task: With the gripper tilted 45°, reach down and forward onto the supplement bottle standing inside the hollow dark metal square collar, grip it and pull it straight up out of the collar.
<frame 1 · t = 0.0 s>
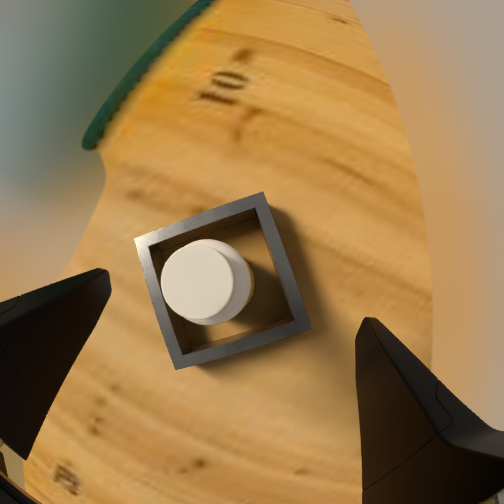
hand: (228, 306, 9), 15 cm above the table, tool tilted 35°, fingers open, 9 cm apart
supplement bottle: (223, 283, 24), resting in collar
collar: (223, 283, 24), on the table
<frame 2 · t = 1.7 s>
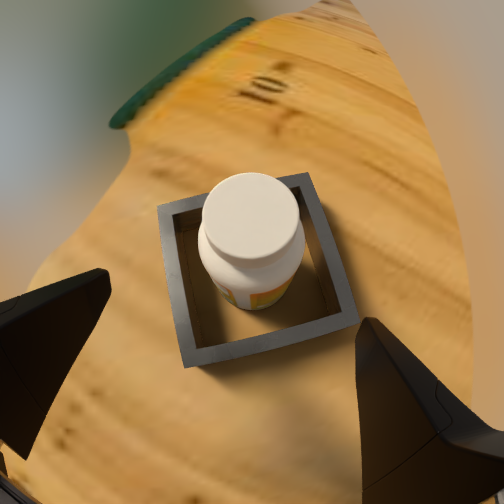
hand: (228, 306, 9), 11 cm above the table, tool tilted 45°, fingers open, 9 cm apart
supplement bottle: (252, 274, 21), resting in collar
collar: (252, 273, 21), on the table
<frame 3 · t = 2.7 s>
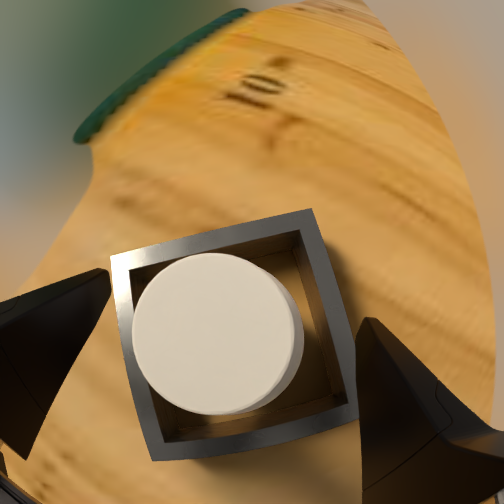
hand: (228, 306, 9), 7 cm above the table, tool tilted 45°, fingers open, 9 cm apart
supplement bottle: (236, 341, 16), resting in collar
collar: (236, 341, 15), on the table
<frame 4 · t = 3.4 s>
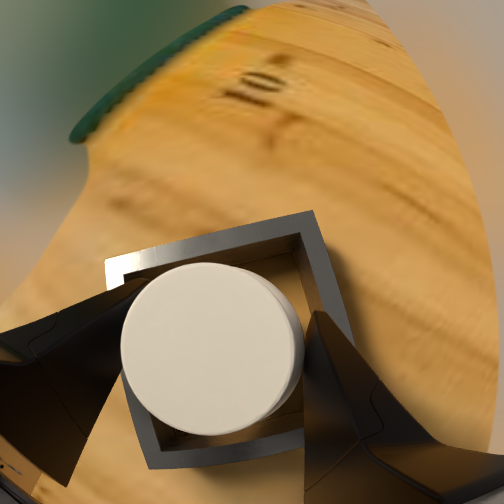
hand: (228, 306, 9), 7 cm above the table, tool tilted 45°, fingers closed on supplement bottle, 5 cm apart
supplement bottle: (235, 347, 15), resting in collar, touching gripper
collar: (234, 347, 15), on the table
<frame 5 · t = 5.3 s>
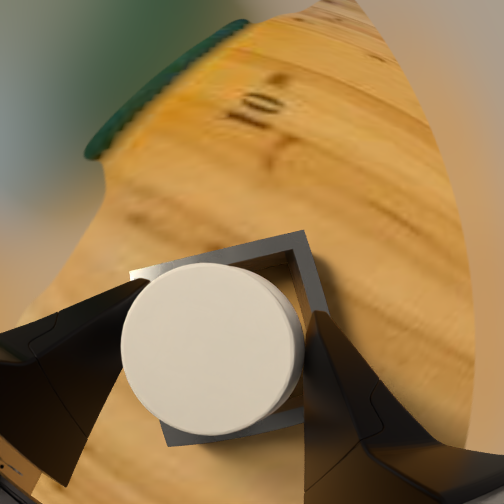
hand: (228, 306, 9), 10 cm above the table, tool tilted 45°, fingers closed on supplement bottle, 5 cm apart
supplement bottle: (235, 346, 15), point 3 cm above the table, touching gripper
collar: (238, 343, 18), on the table
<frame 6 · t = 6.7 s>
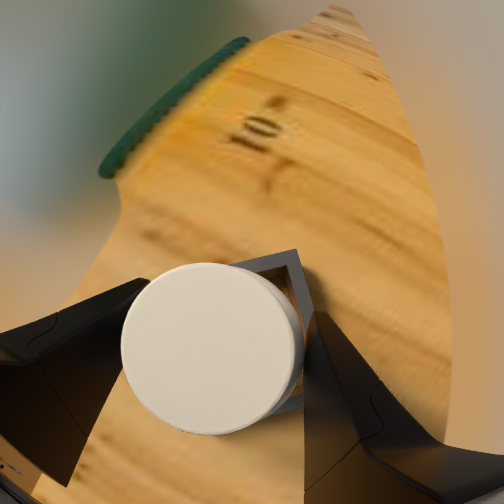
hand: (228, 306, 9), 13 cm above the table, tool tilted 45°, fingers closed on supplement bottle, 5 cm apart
supplement bottle: (235, 346, 15), point 6 cm above the table, touching gripper
collar: (241, 343, 21), on the table
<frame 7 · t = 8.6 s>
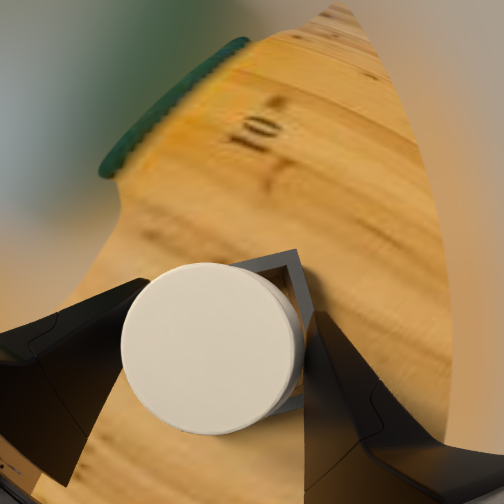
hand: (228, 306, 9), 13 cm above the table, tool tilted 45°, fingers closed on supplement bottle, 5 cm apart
supplement bottle: (235, 346, 15), point 6 cm above the table, touching gripper
collar: (241, 343, 21), on the table
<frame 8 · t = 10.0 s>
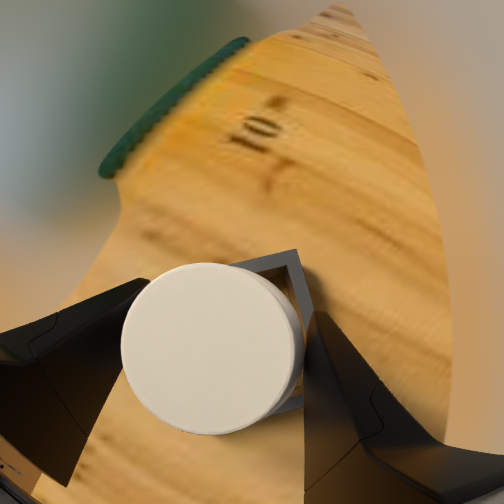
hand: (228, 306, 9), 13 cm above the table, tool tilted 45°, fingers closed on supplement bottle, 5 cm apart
supplement bottle: (235, 346, 15), point 6 cm above the table, touching gripper
collar: (241, 343, 21), on the table
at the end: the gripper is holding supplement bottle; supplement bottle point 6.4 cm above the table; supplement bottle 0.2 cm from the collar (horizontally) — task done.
